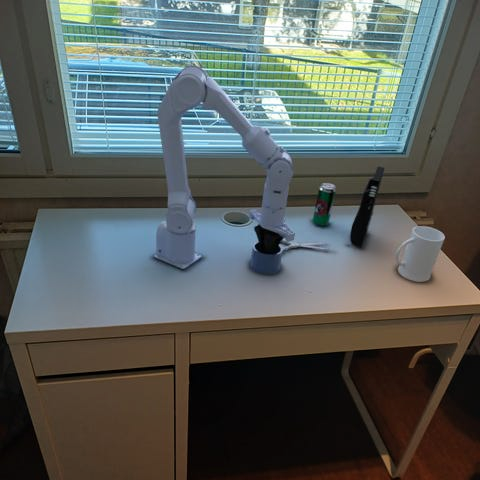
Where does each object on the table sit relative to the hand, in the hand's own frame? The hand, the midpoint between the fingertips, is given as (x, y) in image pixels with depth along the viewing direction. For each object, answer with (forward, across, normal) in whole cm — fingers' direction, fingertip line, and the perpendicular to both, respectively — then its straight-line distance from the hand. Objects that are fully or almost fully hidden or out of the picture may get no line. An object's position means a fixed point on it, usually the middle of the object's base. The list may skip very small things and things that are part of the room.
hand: (266, 254), depth 120 cm
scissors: (+4, +3, -15) cm, 16 cm away
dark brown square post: (+1, 0, 0) cm, 1 cm away
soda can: (+4, +11, -32) cm, 34 cm away
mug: (+4, -22, -32) cm, 39 cm away
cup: (+3, 0, 0) cm, 3 cm away
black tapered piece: (+4, -2, -35) cm, 35 cm away
